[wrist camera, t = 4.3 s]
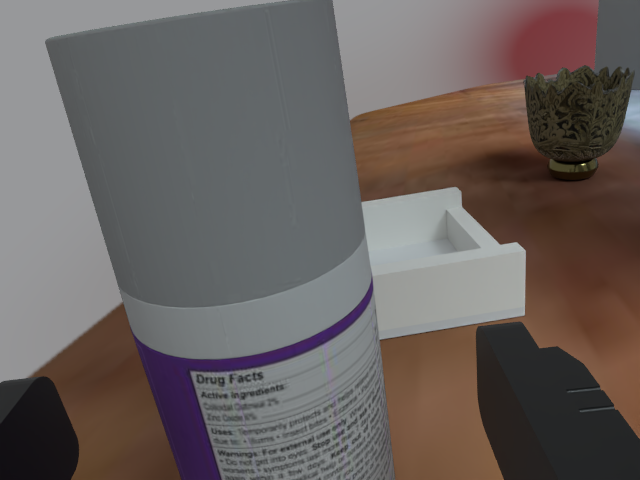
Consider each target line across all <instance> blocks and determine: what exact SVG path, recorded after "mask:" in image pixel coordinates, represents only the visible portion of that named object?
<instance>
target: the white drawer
mask: <svg viewBox="0 0 640 480" xmlns="http://www.w3.org/2000/svg"><path fill="white" fill-rule="evenodd" d="M361 203H362V210H363V217H364V224H365V232H366V239H367V246H368V252H369V259H370V266H371V271H372V278H373V286H374V295H375V304H376V313H377V322H378V331H379V340H381V339H387V338H393V337H399V336H405V335H411V334H417V333H423V332H429V331H435V330H441V329H447V328H453V327H459V326H465V325H471V324H477V323H483V322H489V321H495V320H501V319H506V318H512V317H518V316H524V315H525V270H526V250H524V249H523V248H522V247H521V246H520V245H519V244H518V243H517V242H515V243H509V244H503V245H500V244H499V243H498V242H497V241H496V240H495V239H494V238H493V237H492V236H491V235H490V234H489V233H488V232H487V231H486V230H485V229H484V228H483V227H482V226H481V225H480V224H479V223H478V222H477V221H476V220H475V219H474V218H473V217H472V216H471V215H470V214H469V213H468V212H467V211H466V210H465V209H464V208H463V207H462V198H461V191H460V190H459V189H458V188H457V187H452V188H446V189H440V190H434V191H428V192H422V193H415V194H409V195H403V196H397V197H391V198H385V199H378V200H372V201H366V202H361Z"/></svg>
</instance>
